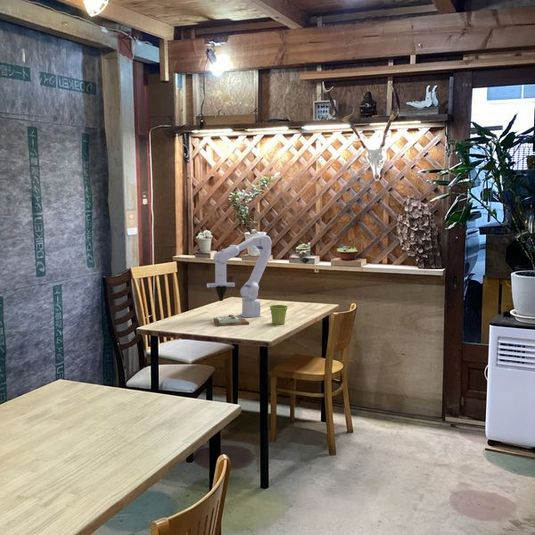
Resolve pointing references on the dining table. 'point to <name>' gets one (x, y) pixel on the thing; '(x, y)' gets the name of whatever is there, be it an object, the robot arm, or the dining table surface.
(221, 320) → the panel
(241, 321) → the board
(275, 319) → the plant pot
